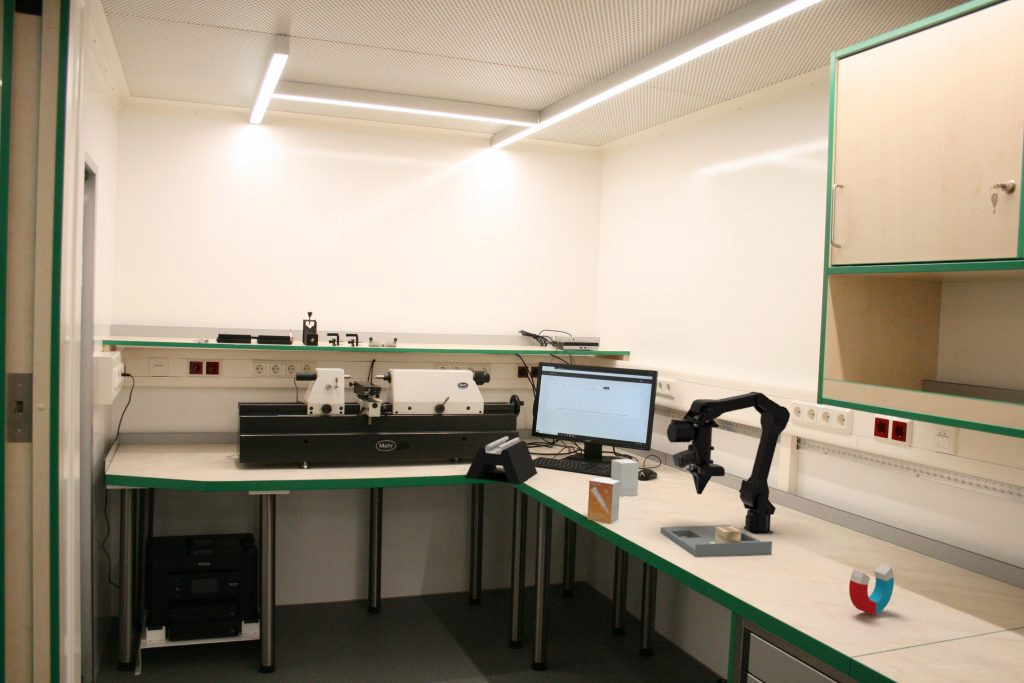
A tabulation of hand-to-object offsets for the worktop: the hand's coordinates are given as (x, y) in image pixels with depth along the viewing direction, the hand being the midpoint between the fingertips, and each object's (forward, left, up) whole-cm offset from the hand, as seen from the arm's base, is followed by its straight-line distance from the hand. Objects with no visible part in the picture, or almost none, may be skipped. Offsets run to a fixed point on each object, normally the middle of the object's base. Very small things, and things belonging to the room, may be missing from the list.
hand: (699, 493), depth 227 cm
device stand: (+42, -78, -12) cm, 90 cm away
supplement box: (+4, -48, -12) cm, 50 cm away
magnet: (-10, +62, -12) cm, 64 cm away
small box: (+24, -16, -12) cm, 31 cm away
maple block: (0, +18, -10) cm, 20 cm away
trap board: (0, +10, -12) cm, 16 cm away
